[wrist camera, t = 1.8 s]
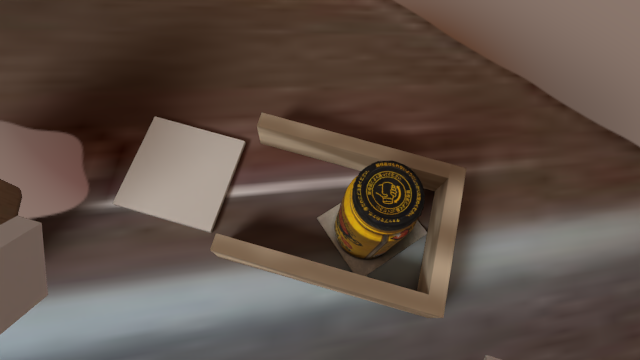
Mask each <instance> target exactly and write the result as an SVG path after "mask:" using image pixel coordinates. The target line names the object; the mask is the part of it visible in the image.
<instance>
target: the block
mask: <svg viewBox="0 0 640 360" xmlns="http://www.w3.org/2000/svg"><path fill="white" fill-rule="evenodd" d="M21 198H22V194H21V190H20V189H19V188H18V187H16V186H14V185H12V184H9V183H8V182H5V181H3V180H1V179H0V225H1V224H3V223H5V222H7V221H8V220H10V219H12V218H14V217H16V216H18V211H19V207H20V203H21Z"/></svg>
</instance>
